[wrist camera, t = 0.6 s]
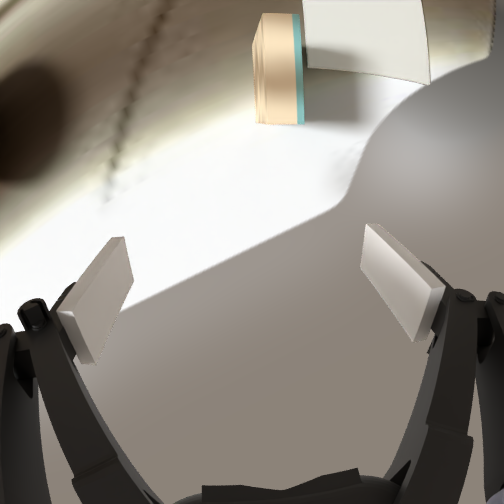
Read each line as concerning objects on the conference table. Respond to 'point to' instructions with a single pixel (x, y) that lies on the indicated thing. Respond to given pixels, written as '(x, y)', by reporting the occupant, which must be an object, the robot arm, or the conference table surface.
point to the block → (278, 70)
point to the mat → (368, 37)
